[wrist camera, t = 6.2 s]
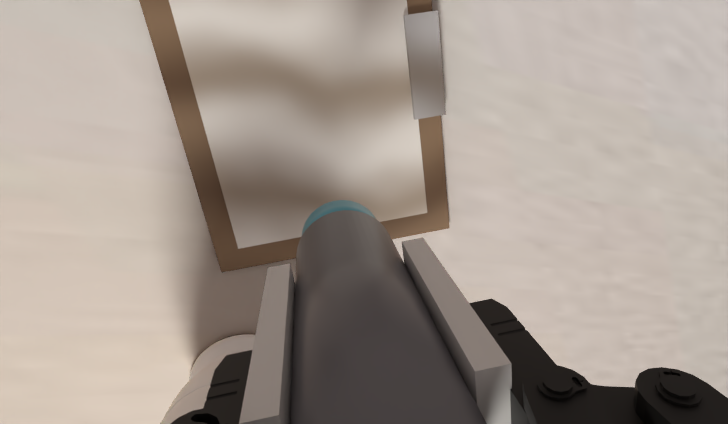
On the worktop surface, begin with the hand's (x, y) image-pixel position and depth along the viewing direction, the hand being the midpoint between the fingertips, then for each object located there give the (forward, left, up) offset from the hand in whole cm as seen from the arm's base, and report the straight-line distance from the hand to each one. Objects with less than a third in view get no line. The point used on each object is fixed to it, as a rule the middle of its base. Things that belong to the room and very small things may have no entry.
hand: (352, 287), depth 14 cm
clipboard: (-6, 0, -14) cm, 15 cm away
